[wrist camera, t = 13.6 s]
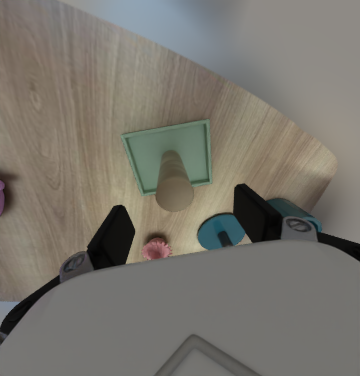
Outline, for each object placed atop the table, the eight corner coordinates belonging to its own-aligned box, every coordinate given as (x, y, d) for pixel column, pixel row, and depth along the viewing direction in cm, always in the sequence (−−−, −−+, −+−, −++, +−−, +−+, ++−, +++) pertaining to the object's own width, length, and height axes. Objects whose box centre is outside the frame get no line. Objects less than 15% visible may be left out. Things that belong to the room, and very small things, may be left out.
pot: (297, 194, 33) (330, 212, 26) (286, 229, 39) (311, 251, 32) (249, 203, 33) (270, 223, 26) (245, 237, 39) (262, 261, 32)
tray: (206, 119, 23) (209, 119, 22) (209, 179, 29) (212, 183, 27) (123, 134, 23) (120, 134, 21) (143, 192, 29) (141, 196, 27)
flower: (173, 230, 35) (173, 248, 30) (171, 250, 38) (171, 269, 34) (143, 230, 34) (138, 248, 29) (143, 250, 37) (140, 270, 33)
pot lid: (246, 208, 34) (259, 223, 29) (242, 243, 40) (253, 260, 35) (194, 217, 34) (199, 234, 29) (199, 251, 40) (204, 269, 35)
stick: (179, 148, 25) (191, 175, 12) (182, 168, 27) (196, 208, 14) (159, 152, 25) (150, 182, 12) (163, 171, 27) (160, 214, 14)
